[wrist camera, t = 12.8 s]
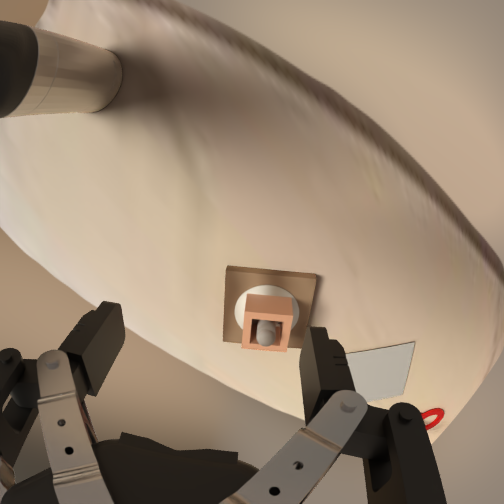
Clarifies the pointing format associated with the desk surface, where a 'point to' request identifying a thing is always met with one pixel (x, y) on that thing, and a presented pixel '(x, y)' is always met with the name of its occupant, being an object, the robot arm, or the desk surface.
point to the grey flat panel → (380, 371)
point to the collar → (267, 310)
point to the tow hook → (433, 412)
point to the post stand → (274, 285)
